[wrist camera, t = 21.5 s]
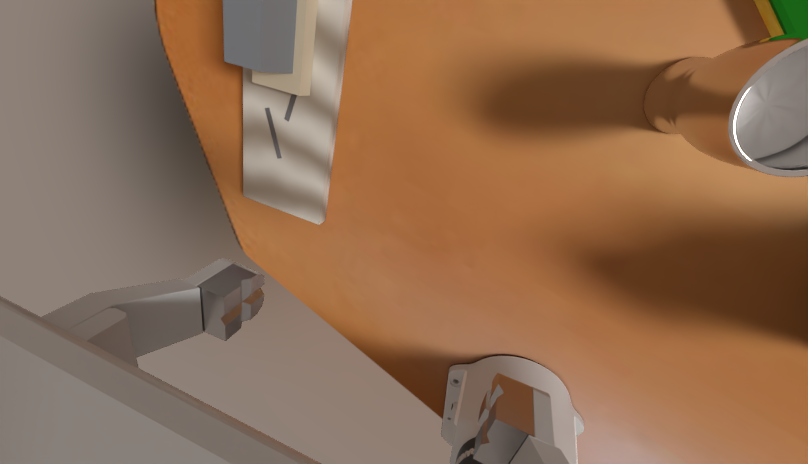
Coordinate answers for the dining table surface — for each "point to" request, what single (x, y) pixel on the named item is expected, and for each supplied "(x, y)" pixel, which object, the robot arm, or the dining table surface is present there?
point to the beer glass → (740, 104)
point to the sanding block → (272, 41)
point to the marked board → (297, 126)
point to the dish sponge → (784, 16)
